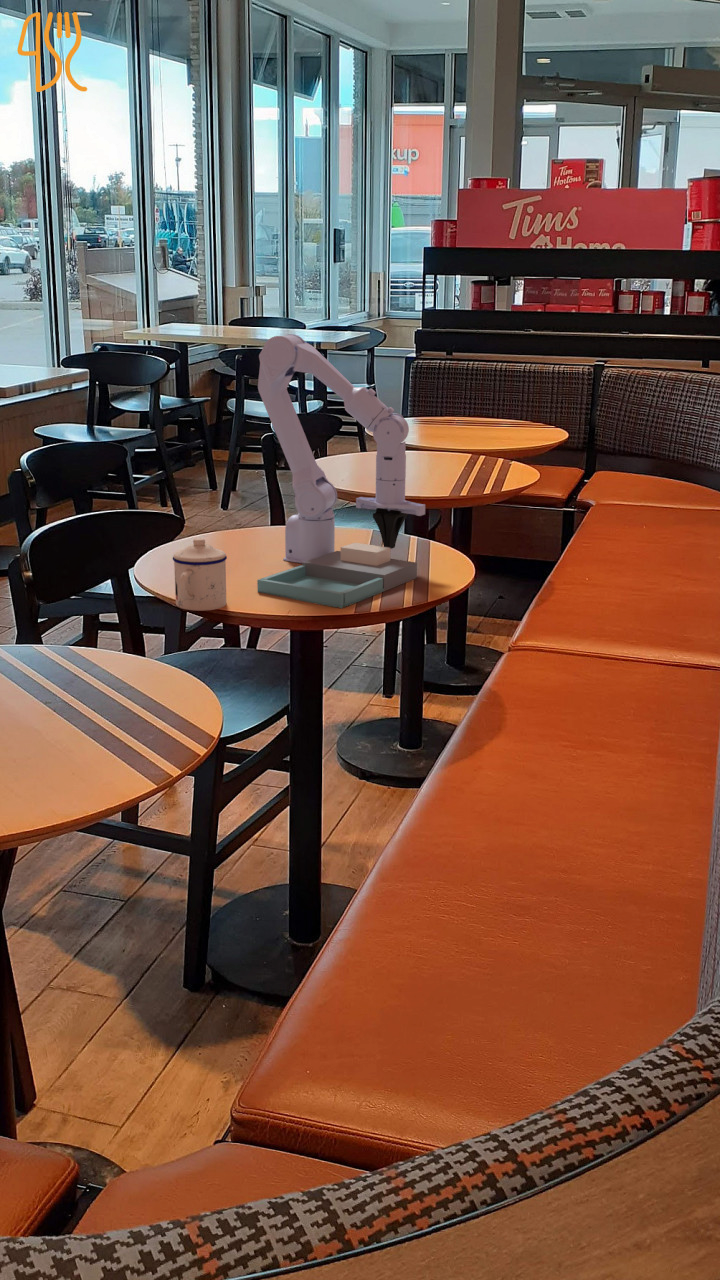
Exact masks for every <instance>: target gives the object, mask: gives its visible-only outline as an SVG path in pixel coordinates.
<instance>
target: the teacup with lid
mask: <svg viewBox="0 0 720 1280" xmlns="http://www.w3.org/2000/svg"><path fill="white" fill-rule="evenodd" d="M192 542H193V544H190V545H188V546H186V547H185V548H183V549H180V550H177V551H175V552H174V554H173V556H172V560H173V565H174V566H173V567H174V568H173V569H174V590H175V594H174V595H175V605H176V607H178V608H180V609H182V610H187V611H188V610H189V611H199V612H200V611H201V612H202V611H203V612H204V611H213V610H219V609H222V608H224V607H225V606H226V605H227V575H226V574H227V572H226V570H227V569H226V568H227V567H226V563H227V562H226V560H227V558H228V557H227V553H225V551H224V550H222V549H218V548H216V547H214V546H212V545H211V544H206V540H205V538H201V537H200V538H199V537H198V538H194V539H193V541H192Z"/></svg>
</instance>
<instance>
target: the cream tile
mask: <svg viewBox="0 0 720 1280" xmlns="http://www.w3.org/2000/svg"><path fill="white" fill-rule="evenodd" d="M391 550H392V549H391V548H389V547H384V546H381V545H373V544H367V543H366V544H365V543H362V542H361V543H360V542H351V543H350V544H346V545H343V546H340V551H341V560H343V561H349V562H356V563H362V564H369V565H375V566H377V565H380V564H383V563H385V562H388V561H390V559H391Z"/></svg>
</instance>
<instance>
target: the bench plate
mask: <svg viewBox="0 0 720 1280" xmlns="http://www.w3.org/2000/svg"><path fill="white" fill-rule="evenodd" d="M301 564H302V566H305V576H311V577H317V578H323V579H329V580H335V581H341V582H347V583H353V584H359V585H360V584H363V583H366V582H368V581H371V580H373V579H376V578H383V589H384V592H386V591H388V590H391V589H394V588H396V587H398V586H400V585H403V584H405V583H408V582H410V581H414V580H416V579H417V578H418V562H417V561H415V562H414V561H408V560H403V559H396V558H390V561H388V562H385V563H383V564H380V565H377V566H375V565H369V564H362V563H356V562H349V561H343V560H341V550H334V552H332V553H329V554H326V555H323V556H320V557H317V558H314V559H311V560H308V561H305V562H302V563H301Z"/></svg>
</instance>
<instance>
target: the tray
mask: <svg viewBox="0 0 720 1280" xmlns="http://www.w3.org/2000/svg"><path fill="white" fill-rule="evenodd" d="M256 582H257V583H256V584H257V593H261V594H266V595H272V596H275V597H280V598H286V599H290V600H296V601H300V602H306V603H310V604H314V603H316V604H315V605H320V604H321V606H326V605H327V607H331V606H332V608H337V607H339V608H338V609H344V608H346V607H345V606H347V607H349V606H352V605H354V604H356V603H359V602H362V601H364V600H366V599H369V598H371V597H374V596H376V595H379V594H381V593H384V592H385V591H384V589H383V578H376V579H373V580H371V581H368V582H366V583H363V584H360V585H359V584H353V583H347V582H341V581H335V580H329V579H323V578H317V577H311V576H305V566H302V565H297V566H295V567H291V568H289V569H288V568H287V569H286V570H283V571H280V572H276V573H273V574H271V575H268V576H265V577H261V578H258V579H257V581H256ZM351 604H352V605H351ZM348 605H349V606H348ZM343 607H344V608H343Z"/></svg>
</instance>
